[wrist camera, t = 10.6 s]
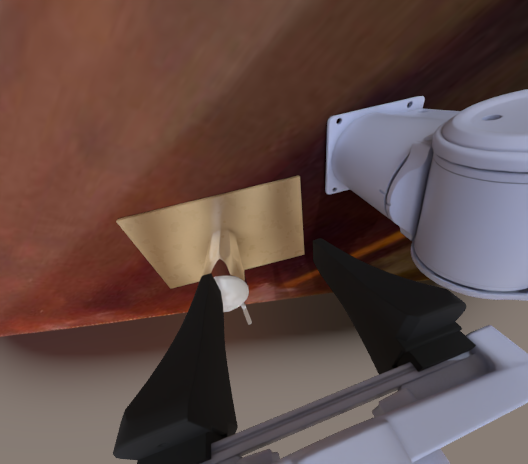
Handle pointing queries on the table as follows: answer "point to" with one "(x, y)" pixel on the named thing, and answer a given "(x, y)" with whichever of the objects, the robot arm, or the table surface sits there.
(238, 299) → the milkshake
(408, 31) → the table surface
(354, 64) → the table surface
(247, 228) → the desk mat
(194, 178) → the table surface
